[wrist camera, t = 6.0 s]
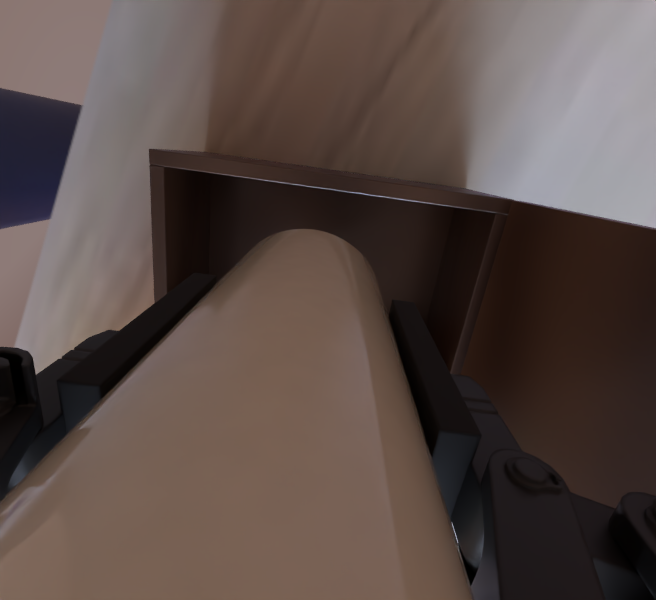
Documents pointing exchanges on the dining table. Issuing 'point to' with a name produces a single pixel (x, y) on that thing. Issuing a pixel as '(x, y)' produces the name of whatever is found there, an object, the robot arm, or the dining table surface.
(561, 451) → the lid
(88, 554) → the bottle
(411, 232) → the open box
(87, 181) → the dining table surface
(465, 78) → the dining table surface
